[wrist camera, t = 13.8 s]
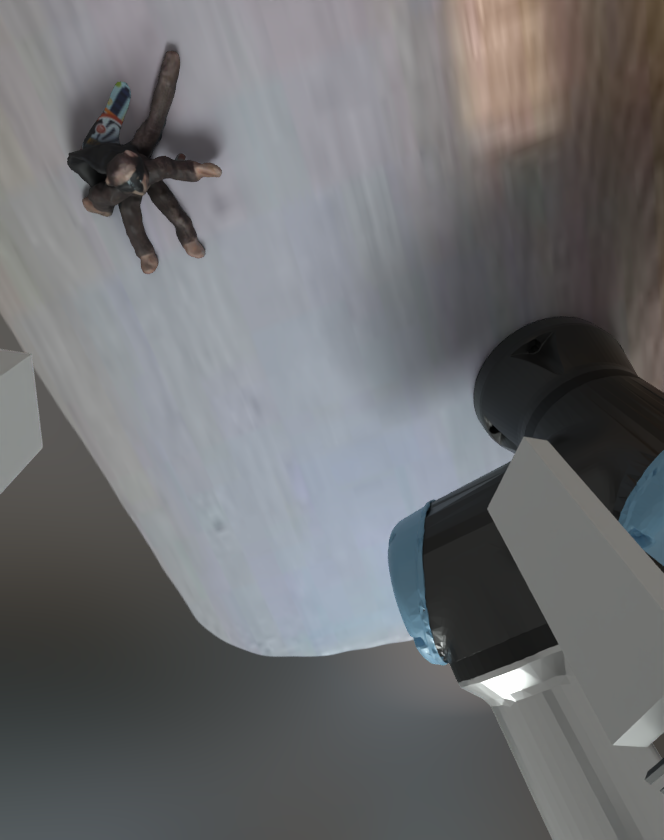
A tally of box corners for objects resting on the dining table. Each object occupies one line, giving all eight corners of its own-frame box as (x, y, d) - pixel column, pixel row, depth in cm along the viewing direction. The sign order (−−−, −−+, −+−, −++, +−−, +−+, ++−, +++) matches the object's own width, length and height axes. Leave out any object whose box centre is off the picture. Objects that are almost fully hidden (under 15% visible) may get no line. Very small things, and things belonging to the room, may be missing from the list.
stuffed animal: (105, 279, 39) (8, 145, 28) (118, 200, 43) (37, 56, 32) (240, 266, 39) (195, 126, 28) (239, 188, 43) (200, 39, 32)
